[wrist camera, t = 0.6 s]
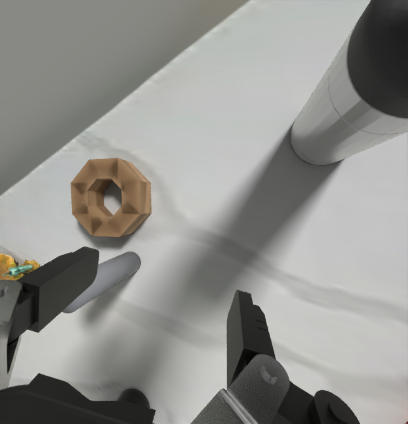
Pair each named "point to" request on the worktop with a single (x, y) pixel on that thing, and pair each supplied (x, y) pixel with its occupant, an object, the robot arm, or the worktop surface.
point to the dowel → (107, 278)
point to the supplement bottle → (134, 397)
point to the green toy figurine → (14, 268)
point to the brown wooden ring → (94, 197)
